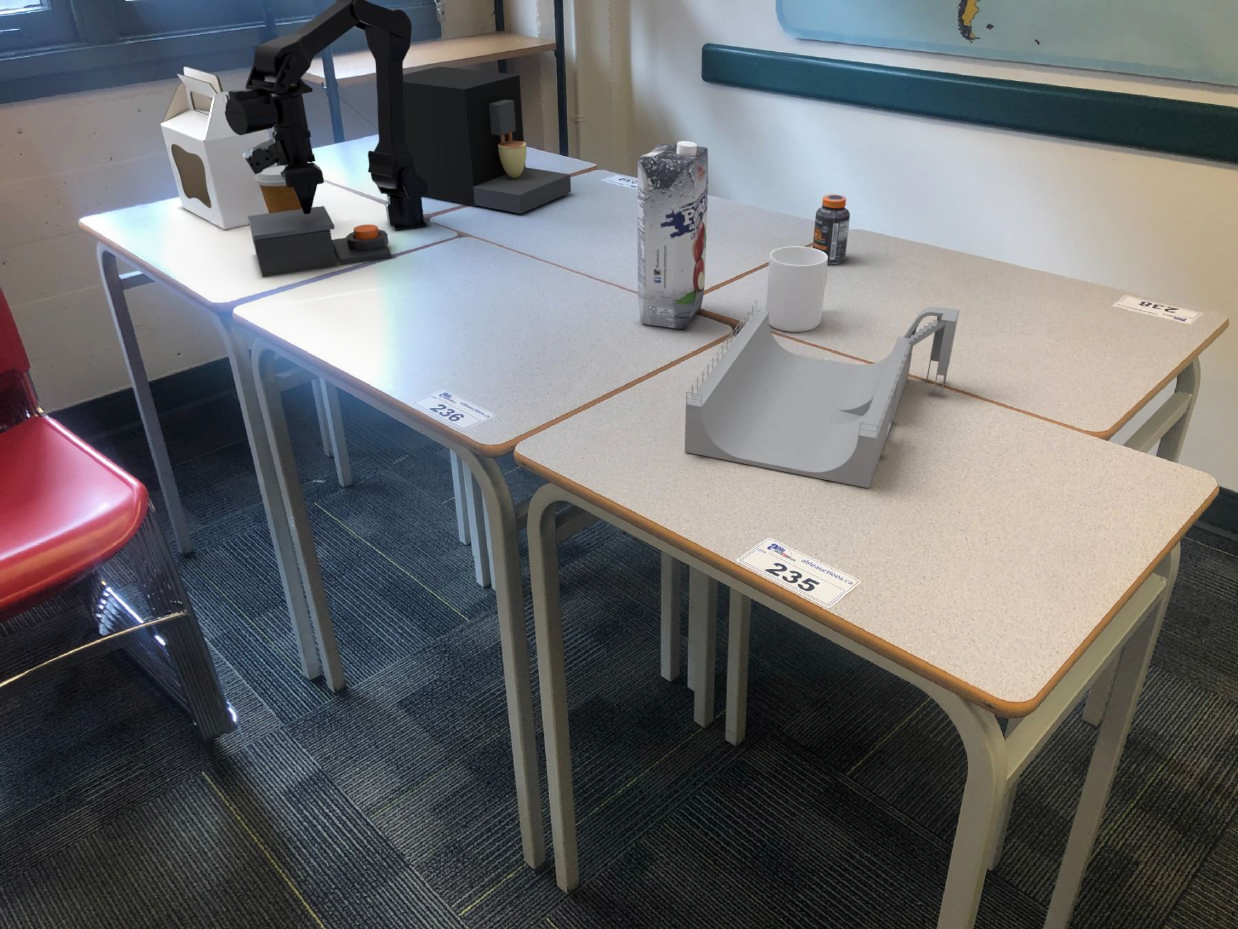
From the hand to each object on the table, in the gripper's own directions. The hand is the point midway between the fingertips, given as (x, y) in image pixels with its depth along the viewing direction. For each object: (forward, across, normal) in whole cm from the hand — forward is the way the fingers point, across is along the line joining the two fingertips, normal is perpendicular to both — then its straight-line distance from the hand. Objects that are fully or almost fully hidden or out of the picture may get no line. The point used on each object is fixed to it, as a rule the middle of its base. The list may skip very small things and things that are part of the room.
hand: (307, 213), depth 172 cm
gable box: (+9, -38, -12) cm, 40 cm away
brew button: (+6, 0, +10) cm, 11 cm away
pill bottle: (+8, +40, +85) cm, 94 cm away
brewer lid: (+2, 0, -3) cm, 4 cm away
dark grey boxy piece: (+8, 0, -4) cm, 9 cm away
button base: (+8, 0, +8) cm, 12 cm away
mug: (+8, +62, +66) cm, 90 cm away
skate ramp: (+8, +90, +52) cm, 104 cm away
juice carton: (+9, +52, +48) cm, 72 cm away
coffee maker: (+8, -28, +40) cm, 49 cm away
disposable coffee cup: (+9, -20, -2) cm, 21 cm away
